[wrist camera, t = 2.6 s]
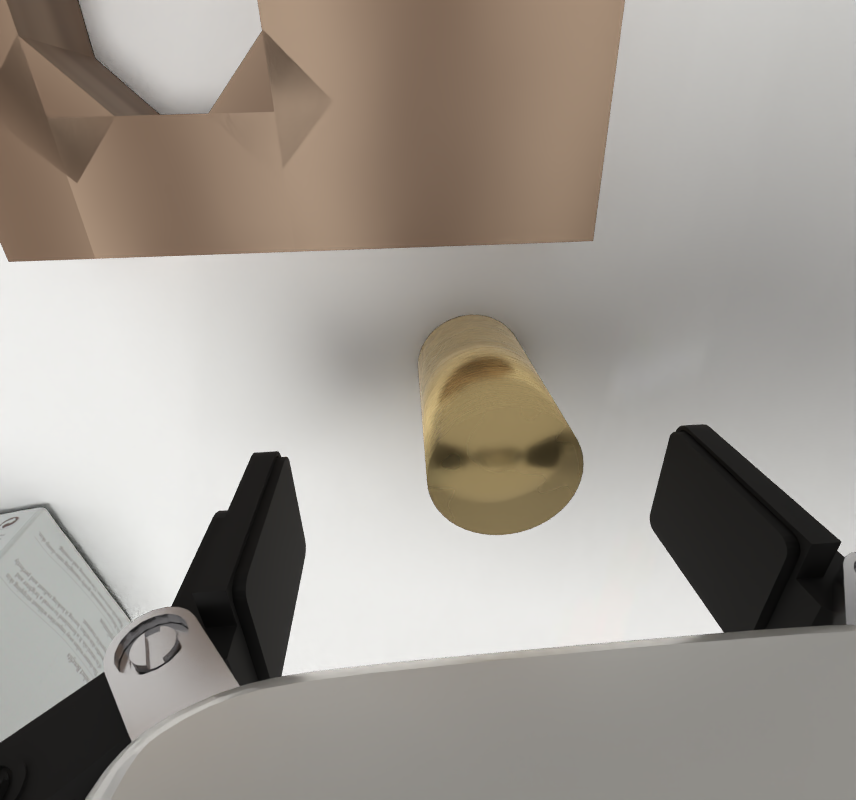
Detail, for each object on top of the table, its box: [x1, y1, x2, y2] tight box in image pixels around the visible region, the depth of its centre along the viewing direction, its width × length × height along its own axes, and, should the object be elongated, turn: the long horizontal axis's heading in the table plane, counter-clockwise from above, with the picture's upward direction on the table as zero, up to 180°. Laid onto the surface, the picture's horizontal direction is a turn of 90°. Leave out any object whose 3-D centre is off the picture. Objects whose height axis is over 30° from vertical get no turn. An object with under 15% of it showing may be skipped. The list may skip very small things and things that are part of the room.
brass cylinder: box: [418, 315, 583, 535], centre depth 15 cm, size 4×4×7 cm
